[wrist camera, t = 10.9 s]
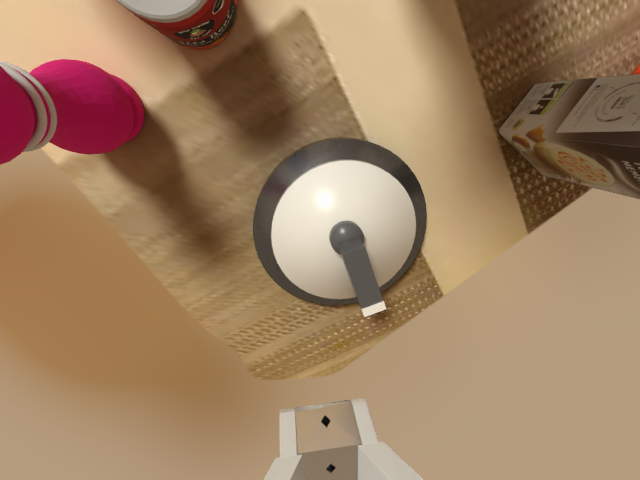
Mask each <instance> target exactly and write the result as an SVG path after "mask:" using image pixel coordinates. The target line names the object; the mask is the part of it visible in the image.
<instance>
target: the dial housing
mask: <svg viewBox="0 0 640 480" xmlns="http://www.w3.org/2000/svg"><path fill="white" fill-rule="evenodd" d="M342 159H351V160H359V161H363V162H367V163H370V164H372V165H375V166H377V167H379V168H381V169H383V170H384V171H386V172H388V173H389V174H391V175H392V176H393V177H394V178H396V179H397V180H398V181H399V183H400V184H401V185H402V186H403V187H404V189H405V190H406V192H407V193H408V195H409V197H410V199H411V201H412V204H413V207H414V211H415V217H416V232H415V239H414V243H413V246H412V249H411V251H410V254H409V256H408V258H407V260H406V261H405V263H404V264H403V266H402V267H401V268H400V270H399V271H398V272H397V273H396V274H395V275H394V276H393V277H392V278H391V279H390V280H389V281H388V282H386V283H385V284H383V285H382V286H381V287H379V290H380V293H381V292H382V291H384V290H385V289H387V288H388V287H390V286H391V285H392V284H394V283H395V282H396V281H397V280H398V279H399V278H400V277H401V276H402V275H403V274H404V273H405V272H406V271H407V269H408V268H409V267H410V265H411V264H412V262H413V261H414V259H415V257H416V256H417V254H418V251H419V249H420V247H421V244H422V241H423V238H424V234H425V229H426V218H427V213H426V203H425V199H424V194H423V192H422V189H421V186H420V184H419V182H418V180H417V178H416V176H415V175H414V173H413V172H412V171H411V169H410V168H409V167H408V166H407V165H406V164H405V163H404V162H403V161H402V160H401V159H400V158H399V157H398V156H396V155H395V154H394V153H392V152H391V151H389V150H387V149H385V148H383V147H381V146H379V145H376V144H373V143H371V142H368V141H364V140H360V139H355V138H341V137H340V138H329V139H324V140H320V141H316V142H313V143H311V144H308V145H306V146H304V147H302V148H300V149H298V150H296V151H295V152H293V153H292V154H290V155H289V156H288V157H286V158H285V159H284V160H283V161H282V162H281V163H280V164H279V165H278V166H277V167H276V168H275V169H274V170H273V172H272V173H271V174H270V175H269V177H268V178H267V180H266V182H265V184H264V185H263V187H262V190H261V192H260V194H259V197H258V200H257V204H256V208H255V213H254V221H253V237H254V242H255V248H256V251H257V254H258V257H259V259H260V261H261V263H262V265H263V267H264V268H265V270H266V271H267V273H268V274H269V276H270V277H271V278H272V279H273V280H274V281H275V282H276V283H277V284H278V285H279V286H280V287H282V288H283V289H284V290H286V291H287V292H289V293H290V294H292V295H294V296H296V297H298V298H300V299H302V300H305V301H308V302H311V303H316V304H322V305H345V304H352V303H356V302H358V300H357V298H356V297H353V298H347V299H329V298H323V297H319V296H315V295H313V294H310V293H308V292H306V291H304V290H302V289H300V288H299V287H298V286H296V285H295V284H294V283H292V282H291V281H290V280H289V279H288V278H287V277H286V275H285V274H284V273H283V271H282V270H281V268H280V267H279V265H278V263H277V261H276V258H275V255H274V252H273V248H272V239H271V231H272V220H273V215H274V211H275V209H276V206H277V203H278V201H279V200H280V198H281V196H282V194H283V193H284V191H285V190H286V189H287V187H288V186H289V185H290V184H291V183H292V182H293V181H294V180H295V179H296V178H297V177H298V176H300V175H301V174H302V173H304V172H305V171H307V170H309V169H310V168H312V167H315V166H317V165H319V164H322V163H325V162H328V161H334V160H342Z"/></svg>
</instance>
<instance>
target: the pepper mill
mask: <svg viewBox="0 0 640 480" xmlns="http://www.w3.org/2000/svg"><path fill="white" fill-rule="evenodd" d="M143 123H144V110H143V106H142V103H141V100H140V99H139V97H138V95H137V94H136V92H135V91H134V90H133V88H132V87H131V86H130V85H128V84H127V83H126V82H125V81H123V80H122V79H120V78H118V77H116V76H114V75H111V74H109V73H107V72H106V71H104V70H102V69H101V68H99V67H97V66H95V65H93V64H90V63H87V62H83V61H78V60H66V59H61V60H54V61H50V62H47V63H44V64H42V65H40V66H39V67H37V68H35V69H33V70H32V71H31V72H30V73H28V72H26V71H25V70H23V69H21V68H19V67H18V66H15V65H12V64H10V63H6V62H3V61H0V164H3V163H6V162H9V161H11V160H12V159H13V158H15V157H16V156H18V155H19V154H21V152H24V151H33V150H36V149H39V148H41V147H43V146H44V145H46V144H47V143H48V142H50V143H52V144H54V145H56V146H58V147H60V148H62V149H65V150H68V151H72V152H76V153H81V154H101V153H107V152H110V151H113V150H115V149H117V148H118V147H120V146H121V145H122V144H123V143H126V142H128V141H130V140H132V139H134V138H135V137H136V136H137V135H138V134H139V132H140V131H141V129H142V127H143Z"/></svg>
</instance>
